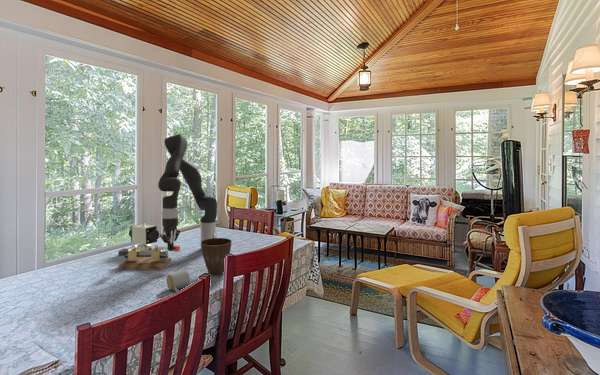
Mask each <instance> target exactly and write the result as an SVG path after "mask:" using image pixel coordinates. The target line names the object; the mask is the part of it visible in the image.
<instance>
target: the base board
mask: <svg viewBox="0 0 600 375" xmlns="http://www.w3.org/2000/svg"><path fill="white" fill-rule="evenodd" d="M172 261H173V258H172V257H168V261H167V262H166V263H161V260H151V257H141V258H139V259H138V260H131V261H130V262H128V263H123V262H122V263H119V265H118V270H163V269H164V268H166V267H167V266H168V265H169V264H170V263H172Z"/></svg>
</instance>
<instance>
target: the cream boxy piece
mask: <svg viewBox="0 0 600 375" xmlns="http://www.w3.org/2000/svg"><path fill="white" fill-rule="evenodd" d="M159 232H160V231H159V230H158V229H157V225H152V224H151V225H150V224H146V223H145V222H144V223H141V224H135V225H130V229H129V231H128V236H129V237H130V242H131V243H137V244H138V245H137V248H141V250H153V249H154V246H153V243H157V242H158V240H159V237H160V233H159Z"/></svg>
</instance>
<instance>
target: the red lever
mask: <svg viewBox="0 0 600 375" xmlns="http://www.w3.org/2000/svg"><path fill="white" fill-rule="evenodd" d="M154 248H155V249H158V248H159V249H163V250H167V251H168V246H162V245H154ZM180 251H181V246H180V245H174V248H173V250H172V251H171V252H174V253H178V252H180Z"/></svg>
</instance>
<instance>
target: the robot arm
mask: <svg viewBox="0 0 600 375" xmlns="http://www.w3.org/2000/svg"><path fill="white" fill-rule="evenodd" d="M163 143H164V147H165V148H166V150H167V152H168V154H169V155H170V157H169V158H168V160H167V161H166V164H165V169H164V172H163V174H162V175H161V176H160V178H159V181H158V183H157V186H158V189H159V190H160V191H161V192H172V194H170V195H166V196H163V197H162V213H161V216H162V218H161V219H162V220H161V222H162V223H161V226H162V227H163V232H162V233H159V237H160V238H161V240H162V241H163V243H165V244H167V247H168V250H167V251H168V252H173V251H172V250H173V248H174V246H175V245H174V244H175V242H177V240H178V238H179V236H180V233H181V230H179V229H178V226H179V209H178V198H179V193H180V190H181V186H182V181H181V179H180V178H179V175H180V173H181V175H182V177H183V179H184V181H185V183H186V184H187V186H188V189H189V190H190V191H191V193H192V195H193V197H194V201H195V203H196V205H197V207H198V209H199V210H201V211H204V214H203V216H201V217H200V224H199V226H200V242H201V241H203V240H206V239H211V238H218V237H217V236H218V233H217V231H216V230H217V229H216V227H217V225H216V224H217V223H216V222H217V220H216V219H217V218H218V217H217V216H218V201H217V199H216V198H215V197H213V196H209V195H207V194H206V193H205V192H204V190H203V187H202V181H203V180H202V176H201V174H200V172H199V169H198V168H197V166H195V165H194V164H193V163H192V162H190V161H188V160H187V159H186V158H184V156H185V153H186V151H187V150H188V149H187V148H188V139H187V138H186V137H185V135H183V133H178V134H175V135H172V136H169V137H168V136H167V137H166V138H164V142H163ZM200 250H201V251H202V248H201V247H200Z"/></svg>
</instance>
